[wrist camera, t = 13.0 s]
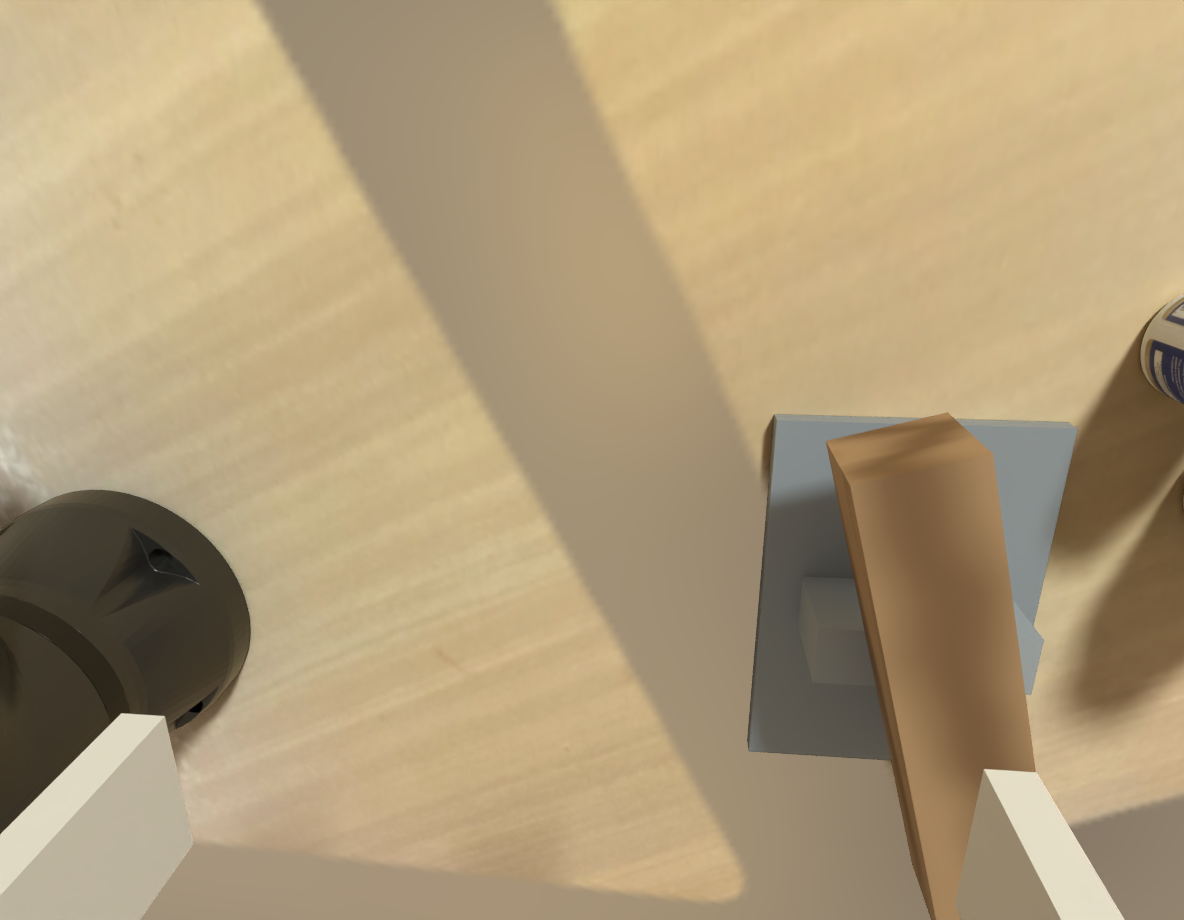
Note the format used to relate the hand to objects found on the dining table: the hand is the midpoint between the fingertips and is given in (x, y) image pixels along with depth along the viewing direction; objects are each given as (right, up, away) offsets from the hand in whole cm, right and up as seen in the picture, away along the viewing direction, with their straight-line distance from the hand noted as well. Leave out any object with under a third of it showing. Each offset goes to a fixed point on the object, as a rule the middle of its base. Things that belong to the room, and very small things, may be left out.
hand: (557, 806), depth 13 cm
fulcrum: (+17, -2, +30) cm, 34 cm away
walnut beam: (+16, -4, +24) cm, 29 cm away
